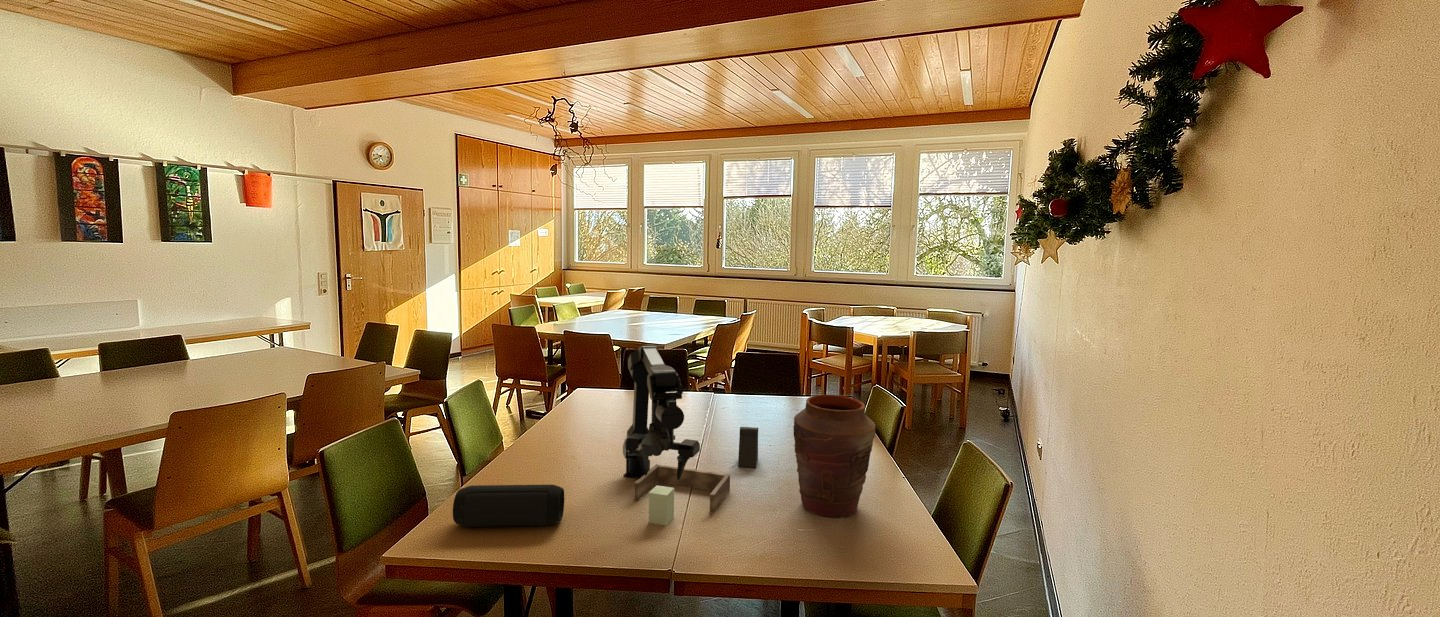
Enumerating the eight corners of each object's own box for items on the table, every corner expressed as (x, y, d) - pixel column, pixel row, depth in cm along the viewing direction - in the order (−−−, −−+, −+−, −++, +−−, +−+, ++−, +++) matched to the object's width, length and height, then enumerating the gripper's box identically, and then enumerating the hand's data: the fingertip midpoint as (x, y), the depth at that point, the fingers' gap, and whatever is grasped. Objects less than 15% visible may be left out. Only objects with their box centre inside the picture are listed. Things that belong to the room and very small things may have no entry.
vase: (866, 532, 151) (871, 416, 147) (781, 516, 158) (785, 406, 155) (875, 497, 172) (880, 396, 168) (800, 485, 179) (803, 388, 176)
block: (648, 522, 153) (648, 492, 152) (656, 514, 158) (656, 485, 157) (666, 525, 152) (667, 495, 151) (673, 517, 157) (674, 487, 156)
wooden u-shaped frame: (634, 500, 166) (634, 482, 166) (656, 480, 181) (656, 464, 180) (713, 512, 160) (714, 494, 159) (729, 491, 174) (730, 474, 174)
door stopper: (756, 468, 193) (757, 432, 191) (737, 467, 193) (738, 431, 192) (758, 458, 201) (759, 424, 200) (740, 457, 202) (741, 423, 201)
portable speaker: (565, 514, 157) (565, 478, 156) (558, 532, 147) (558, 493, 146) (465, 516, 155) (464, 479, 154) (451, 534, 145) (450, 495, 144)
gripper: (615, 422, 147) (615, 483, 149) (685, 431, 142) (684, 494, 143) (634, 411, 158) (634, 468, 159) (701, 418, 152) (700, 477, 154)
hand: (662, 477), depth 154 cm, fingers open, 9 cm apart
